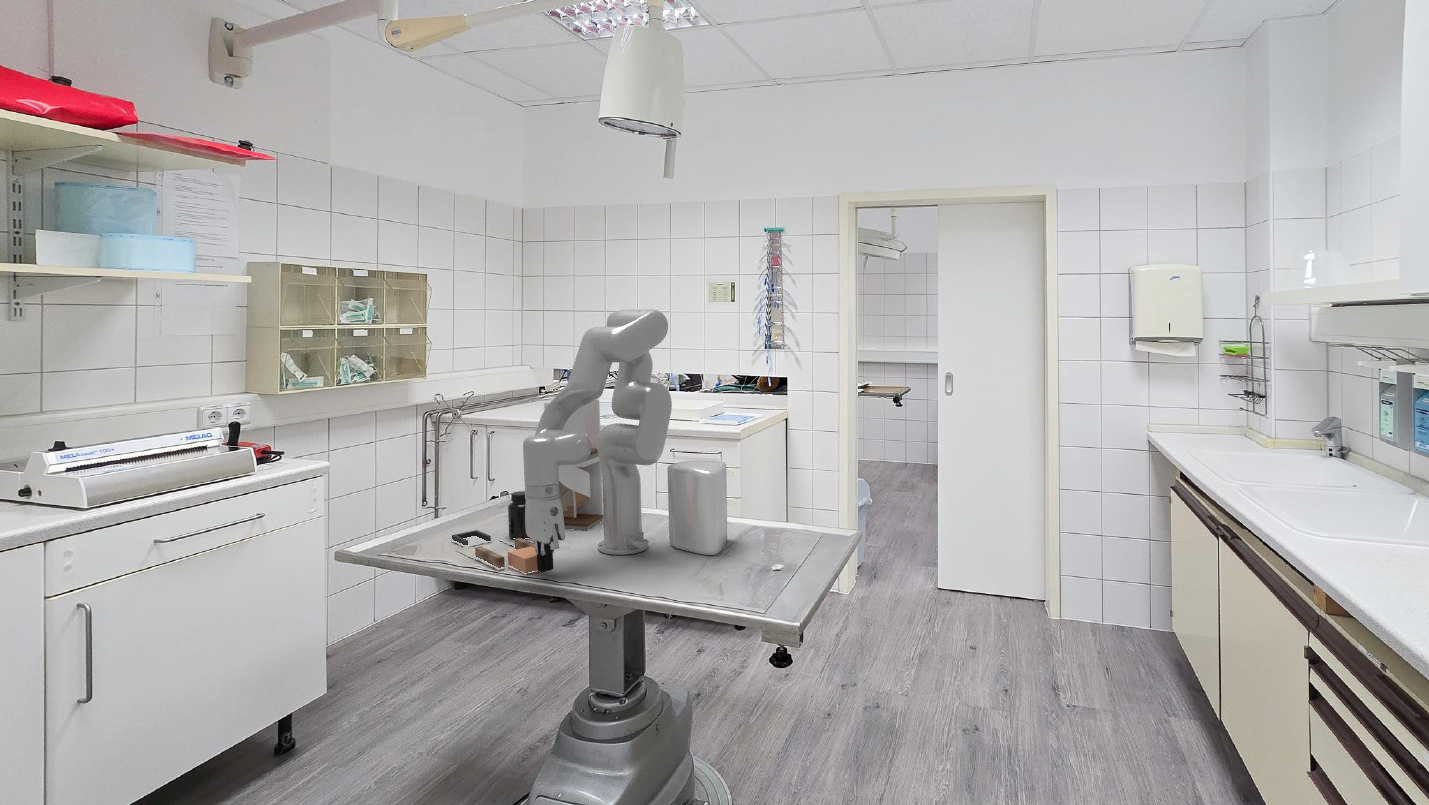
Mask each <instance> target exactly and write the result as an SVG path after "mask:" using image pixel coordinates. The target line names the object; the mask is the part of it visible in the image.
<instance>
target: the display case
mask: <svg viewBox="0 0 1429 805" xmlns="http://www.w3.org/2000/svg"><path fill="white" fill-rule="evenodd" d="M550 402H551V401H548V402H544V404H543V406H544V410H545V409H546V407H547V406H548V405H549V403H550ZM600 414H601V413H600V399H597V400H595V401H593V402H591V403H589V404H587V405H585V406H583V407H581V408H580V409H578V410H577V411H576V412H574V413H573V414H572V415H571V416H570V418H569V419H568V421H567V422H566V424H565V426H564V429H563V430H565V431H572V432H578V433H582V434H584V435H585V436H586V437H588V439H589V440H590V442H591V446H592V449H591V453H590V455H589V457H588V458H587V459H586V460H585V461H584V462H582V463H580V464H576V465H560V466H558V473H559V498H560V500H561V504H562V509H563V516H564V527H565V529H574V530H573V531H578V530H581V532H588V531H589V530H591V529H592V527H593V528H595V527H596V526H598V525H600V524H601V523H603V522H604V520H603V489H602V488H603V487H602V470H601V463H600V459H599V455H598V450H597V438H598V435H599V433H600V431H601V416H600ZM602 521H603V522H602ZM600 522H601V523H600ZM597 524H598V525H597ZM588 529H589V530H588ZM587 530H588V531H587Z"/></svg>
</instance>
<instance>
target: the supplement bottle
mask: <svg viewBox="0 0 1429 805" xmlns="http://www.w3.org/2000/svg"><path fill="white" fill-rule="evenodd" d="M510 497H511V498H510V501H511V503H509V505H508V506H507V517H508V518H507V519H508V520H507V525H508V537H509V538H510V539H511V538H515V539H516V538H522V539H525V538H530V537H528V536H527V534H526V527H525V505H526V499H525V490H524V491H522V490H521V491H514V492H511V495H510Z"/></svg>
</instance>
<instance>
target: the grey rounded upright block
mask: <svg viewBox="0 0 1429 805" xmlns="http://www.w3.org/2000/svg"><path fill="white" fill-rule="evenodd" d="M727 489H728V488H727V464H726V461H725V462H724V461H720V460H719V461H718V460H704V459H695V460H694V459H693V460H683V461H678V462H674V463H671V464H669V465H668V466H667V498H668V499H667V502H668V508H667V509H668V540H669V542H668V544H669V545H670V546H672V547H674V548H676V549H677V550H682V551H686V552H690V553H694V554H699V555H700V554H701V555H704V556H706V555H707V556H715V555H718V554H719V553H720V552H722V550H723V549H724V547H725V545H726V544H727V542H728V498H727V497H728V496H727V492H728V490H727Z"/></svg>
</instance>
